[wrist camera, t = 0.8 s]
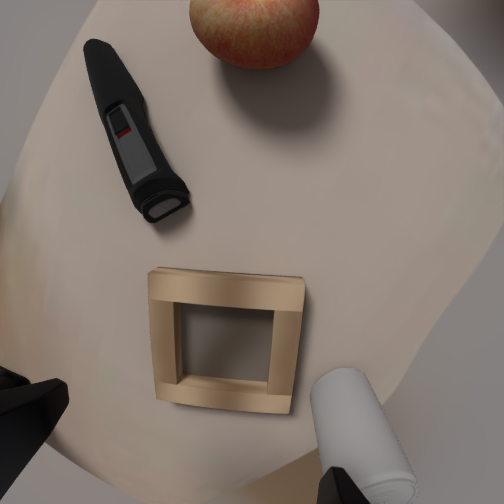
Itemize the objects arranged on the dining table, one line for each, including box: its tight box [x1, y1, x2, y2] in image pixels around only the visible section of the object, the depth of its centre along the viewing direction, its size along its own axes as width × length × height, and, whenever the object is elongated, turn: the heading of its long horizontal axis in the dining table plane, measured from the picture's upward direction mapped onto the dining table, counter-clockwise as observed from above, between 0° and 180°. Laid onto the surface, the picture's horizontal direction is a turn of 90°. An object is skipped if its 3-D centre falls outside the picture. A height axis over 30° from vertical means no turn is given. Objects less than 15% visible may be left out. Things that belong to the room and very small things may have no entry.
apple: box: [189, 0, 319, 69], centre depth 14 cm, size 8×8×8 cm
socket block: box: [148, 267, 305, 414], centre depth 20 cm, size 10×10×2 cm
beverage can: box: [310, 367, 418, 504], centre depth 16 cm, size 5×5×12 cm
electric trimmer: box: [83, 39, 190, 223], centre depth 18 cm, size 4×16×3 cm, turn 26°
